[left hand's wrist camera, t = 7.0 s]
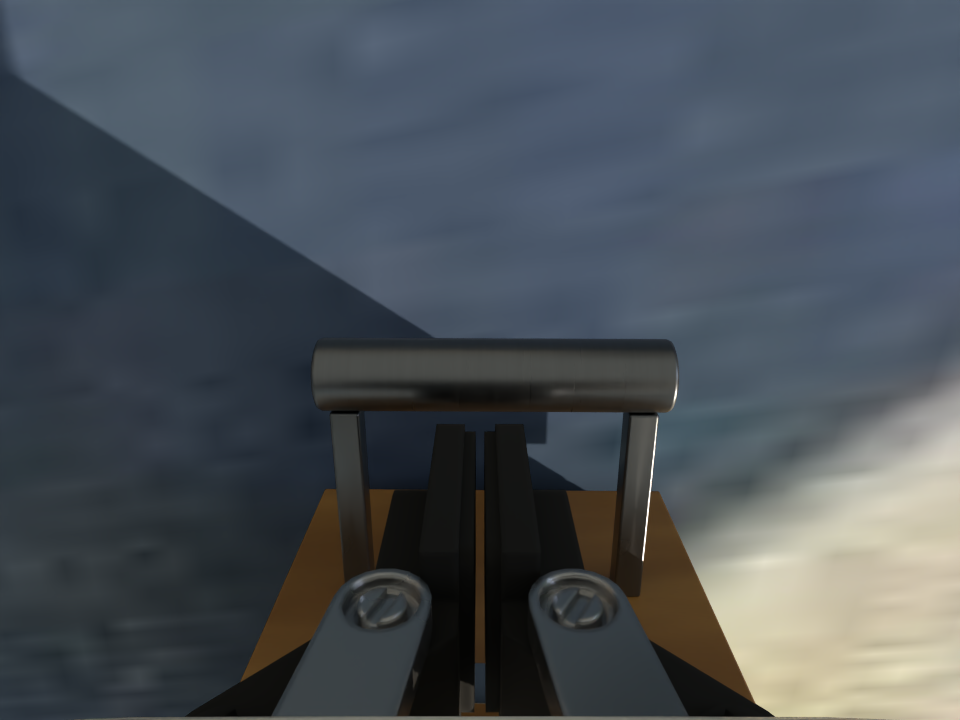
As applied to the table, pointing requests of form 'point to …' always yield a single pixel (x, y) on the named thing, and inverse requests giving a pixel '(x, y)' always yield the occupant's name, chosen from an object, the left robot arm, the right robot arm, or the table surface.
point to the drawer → (483, 388)
